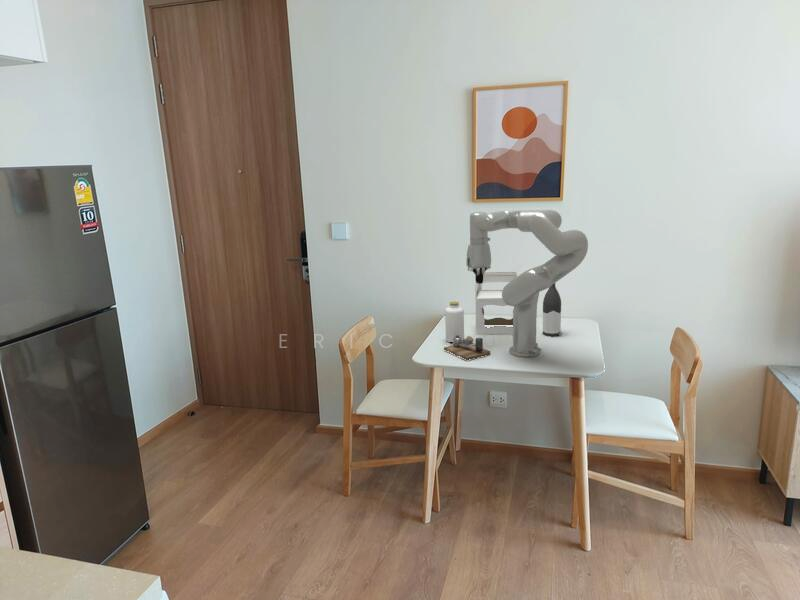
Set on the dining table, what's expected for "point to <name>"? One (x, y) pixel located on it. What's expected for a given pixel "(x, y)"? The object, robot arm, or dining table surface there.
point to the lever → (466, 343)
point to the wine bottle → (552, 312)
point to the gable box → (492, 299)
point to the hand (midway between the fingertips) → (479, 282)
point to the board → (466, 350)
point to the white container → (454, 321)
